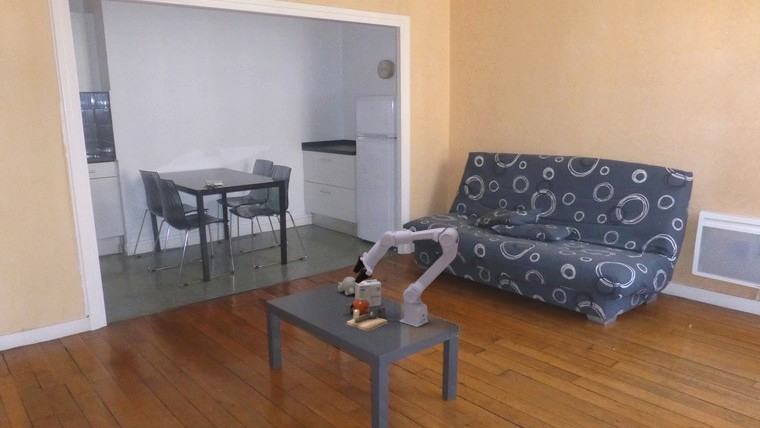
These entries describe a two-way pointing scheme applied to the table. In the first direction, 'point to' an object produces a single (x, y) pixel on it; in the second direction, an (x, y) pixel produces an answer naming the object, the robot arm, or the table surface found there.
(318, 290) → the table surface
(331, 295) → the table surface
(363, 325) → the board
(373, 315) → the lever
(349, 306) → the anvil
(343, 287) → the round bodied animal figurine
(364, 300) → the tomato
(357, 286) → the light bulb box
